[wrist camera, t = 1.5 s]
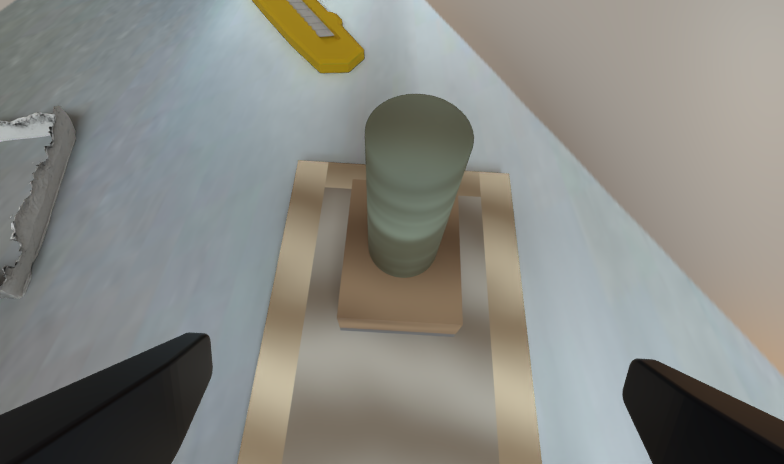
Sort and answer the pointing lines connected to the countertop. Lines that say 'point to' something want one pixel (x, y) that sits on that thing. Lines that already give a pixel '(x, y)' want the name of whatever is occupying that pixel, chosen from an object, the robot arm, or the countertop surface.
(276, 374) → the wooden frame
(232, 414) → the countertop surface
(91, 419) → the robot arm
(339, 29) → the utility knife
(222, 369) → the countertop surface
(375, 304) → the grey-green cylinder
